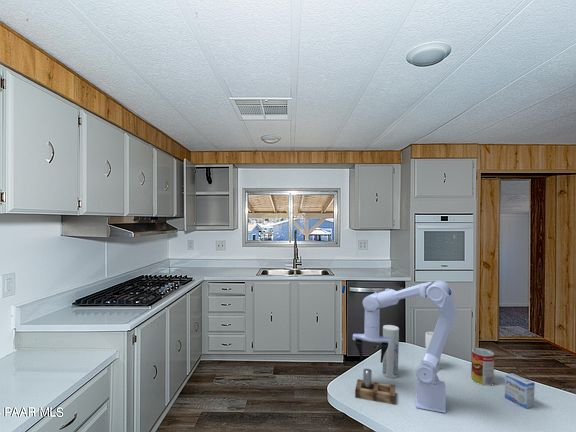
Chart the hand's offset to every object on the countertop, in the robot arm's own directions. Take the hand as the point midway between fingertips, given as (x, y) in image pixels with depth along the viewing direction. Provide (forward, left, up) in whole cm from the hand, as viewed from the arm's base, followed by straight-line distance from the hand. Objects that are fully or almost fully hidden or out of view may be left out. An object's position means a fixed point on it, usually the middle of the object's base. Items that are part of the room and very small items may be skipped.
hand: (371, 360), depth 130 cm
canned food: (-43, -20, -11) cm, 49 cm away
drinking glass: (-25, -26, -11) cm, 38 cm away
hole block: (-2, +6, -10) cm, 12 cm away
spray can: (-7, -13, -11) cm, 18 cm away
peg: (+1, +6, -10) cm, 12 cm away
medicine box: (-52, -7, -11) cm, 54 cm away
